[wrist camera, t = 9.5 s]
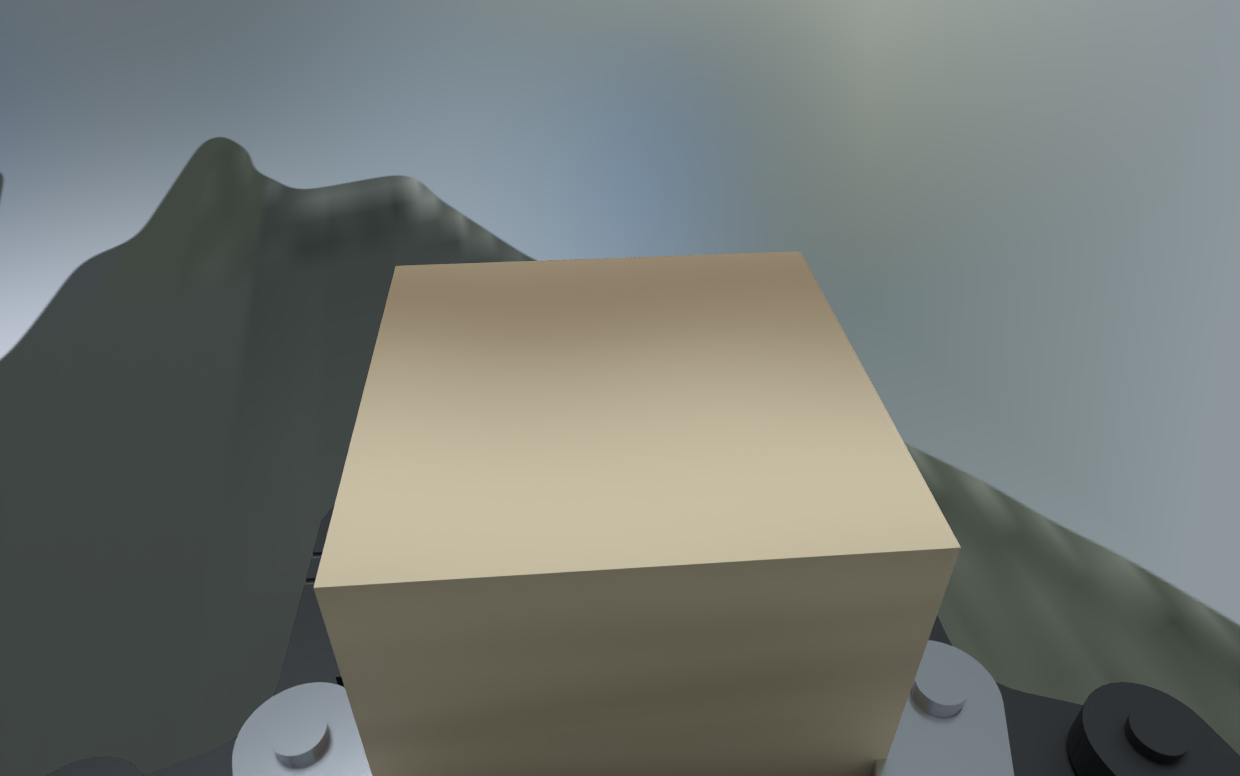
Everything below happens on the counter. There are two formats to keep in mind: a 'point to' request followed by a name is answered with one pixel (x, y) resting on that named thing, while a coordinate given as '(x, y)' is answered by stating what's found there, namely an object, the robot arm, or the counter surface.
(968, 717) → the robot arm
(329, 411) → the counter surface
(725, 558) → the oak block
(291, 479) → the counter surface
